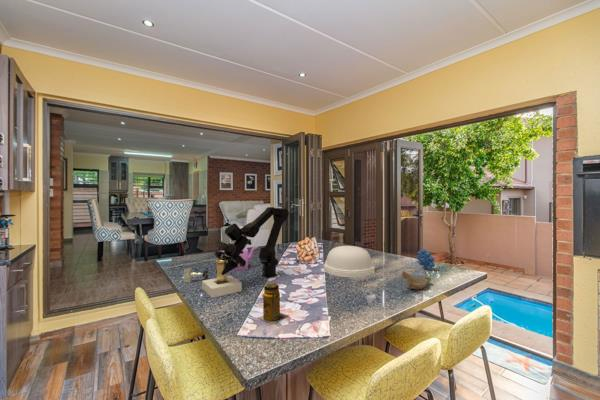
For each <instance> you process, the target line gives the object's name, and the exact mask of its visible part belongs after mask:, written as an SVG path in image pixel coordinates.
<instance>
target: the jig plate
mask: <svg viewBox="0 0 600 400" xmlns="http://www.w3.org/2000/svg"><path fill="white" fill-rule="evenodd" d="M242 284H243V283H242V281H240V280H238V279H236V278H235V277H233V276H231V275H227V283H223V284H217V277H215V278H210V279H209V278H208V280H206V279H205V280H201V289H202V291H204V292H205V294H207V295H208V296H209V297H210V298H211V299H212V298H218V297H222V296H223V297H224V296H226V295H231V294H235V293H241V292H242V291H243V285H242Z"/></svg>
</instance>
